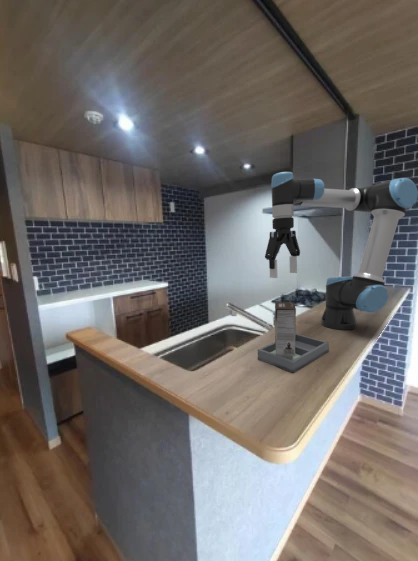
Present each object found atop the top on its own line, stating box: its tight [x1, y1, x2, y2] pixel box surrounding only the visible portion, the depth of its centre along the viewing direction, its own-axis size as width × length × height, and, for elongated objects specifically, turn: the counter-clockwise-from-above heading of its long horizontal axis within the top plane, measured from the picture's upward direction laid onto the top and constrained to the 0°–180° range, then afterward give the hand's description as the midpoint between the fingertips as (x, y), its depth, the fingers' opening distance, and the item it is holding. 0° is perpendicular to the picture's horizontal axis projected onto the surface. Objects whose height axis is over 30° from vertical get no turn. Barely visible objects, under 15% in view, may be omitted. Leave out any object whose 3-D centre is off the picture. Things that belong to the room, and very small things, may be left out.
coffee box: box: [274, 301, 297, 356], centre depth 89 cm, size 9×6×16 cm
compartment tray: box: [257, 332, 330, 374], centre depth 94 cm, size 23×14×4 cm, turn 130°
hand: (283, 275), depth 99 cm, fingers open, 13 cm apart
